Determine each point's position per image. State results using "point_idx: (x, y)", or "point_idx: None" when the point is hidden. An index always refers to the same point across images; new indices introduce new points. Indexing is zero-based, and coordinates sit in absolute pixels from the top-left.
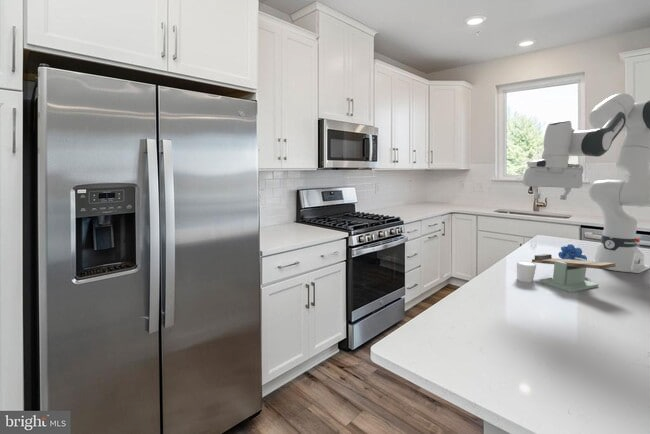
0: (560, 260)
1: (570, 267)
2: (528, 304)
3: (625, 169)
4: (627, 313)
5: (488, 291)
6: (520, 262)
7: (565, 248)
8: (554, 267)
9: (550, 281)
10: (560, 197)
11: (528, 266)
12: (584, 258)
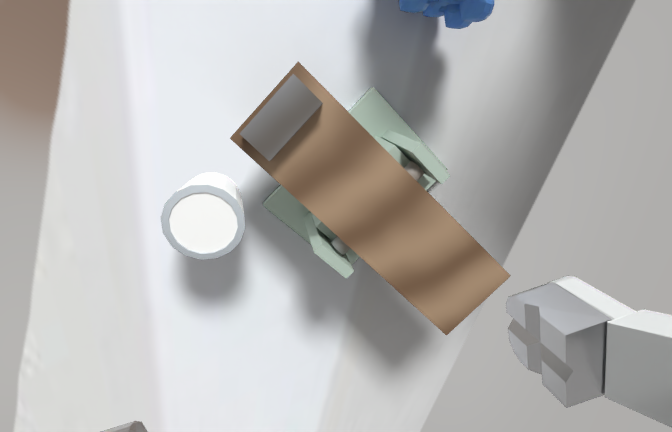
0: (346, 187)
1: None
2: (220, 410)
3: None
4: (430, 355)
5: (104, 373)
6: (177, 219)
7: None
8: (311, 240)
9: (297, 211)
10: (528, 306)
11: (212, 256)
12: (478, 19)
